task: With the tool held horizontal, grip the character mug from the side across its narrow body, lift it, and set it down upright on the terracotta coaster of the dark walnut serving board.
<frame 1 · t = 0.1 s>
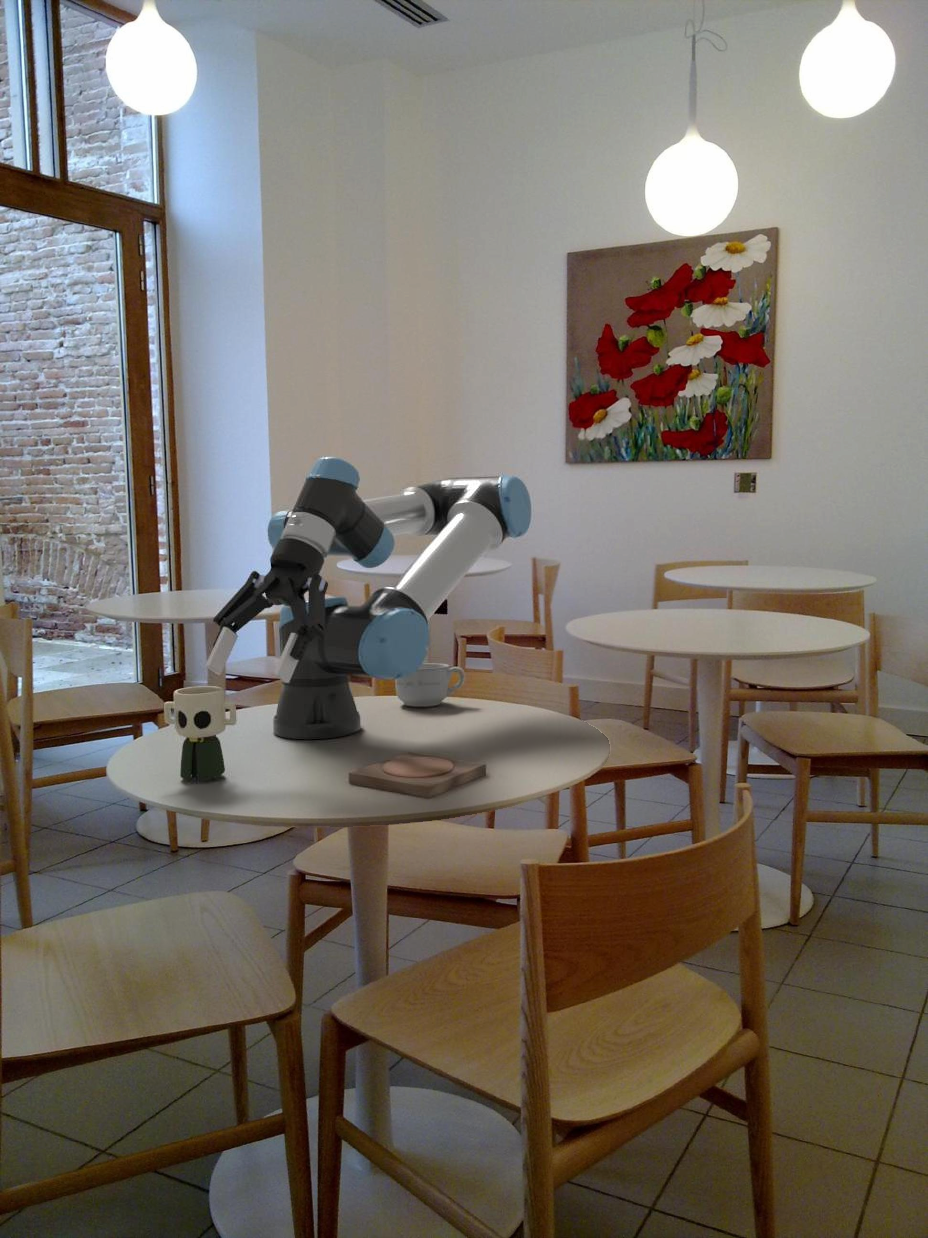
hand: (245, 674, 143), 15 cm above the table, tool tilted 35°, fingers open, 13 cm apart
teacup: (430, 706, 196), on the table
walnut board: (418, 778, 144), on the table
character mug: (203, 779, 146), on the table
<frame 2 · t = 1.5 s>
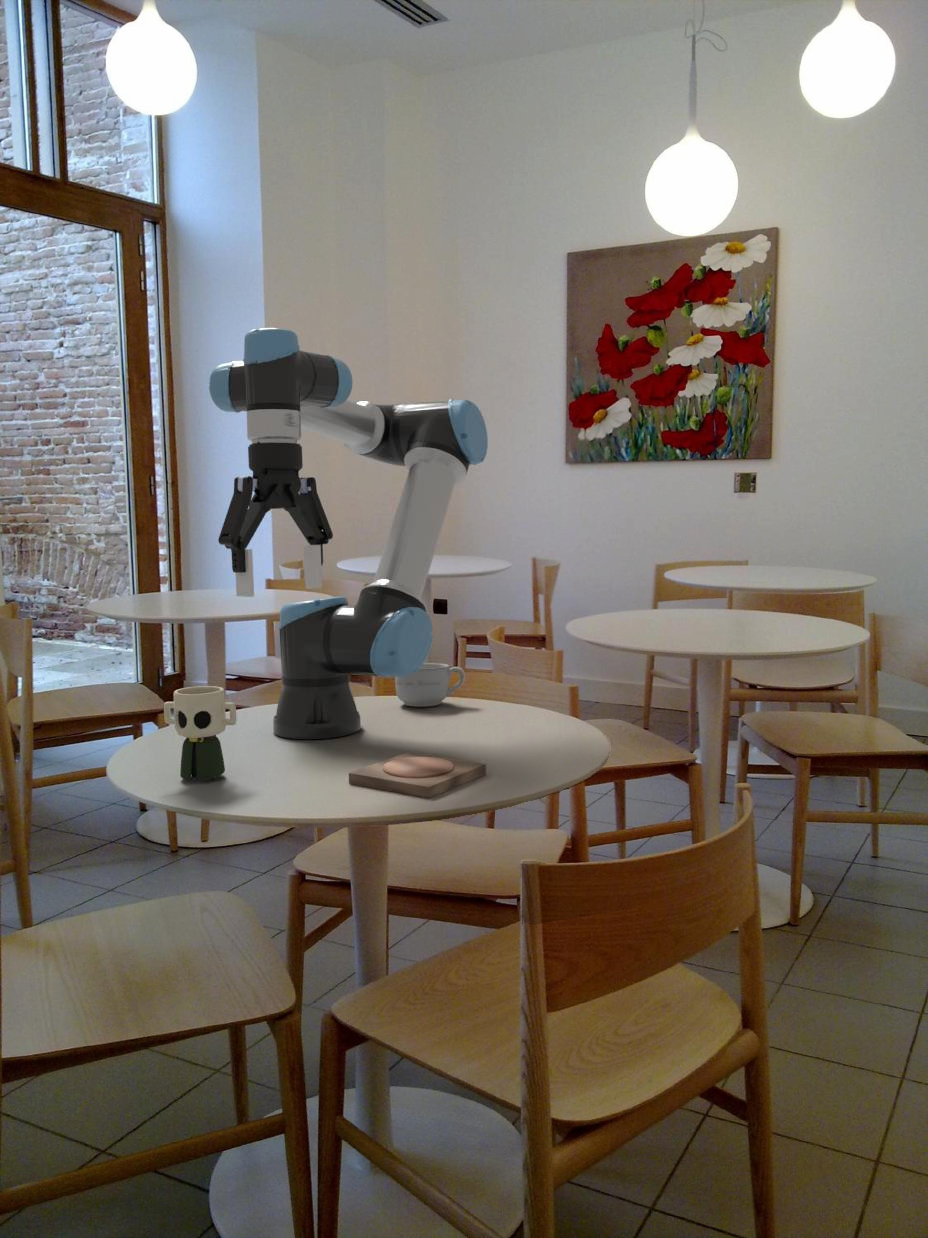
hand: (280, 592, 144), 27 cm above the table, tool pointing down, fingers open, 13 cm apart
nothing on the table moved.
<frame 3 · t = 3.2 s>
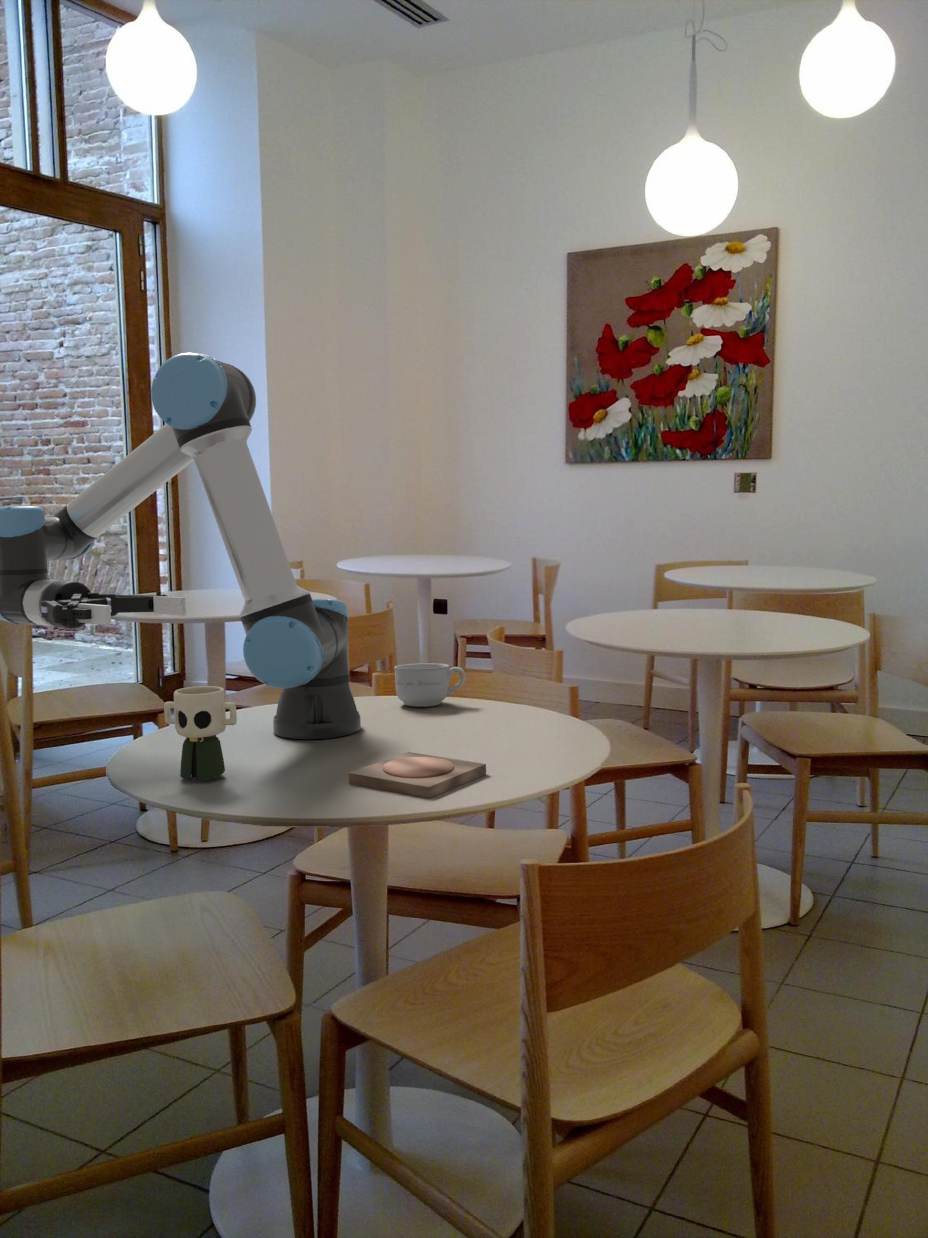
hand: (147, 610, 149), 24 cm above the table, tool horizontal, fingers open, 13 cm apart
nothing on the table moved.
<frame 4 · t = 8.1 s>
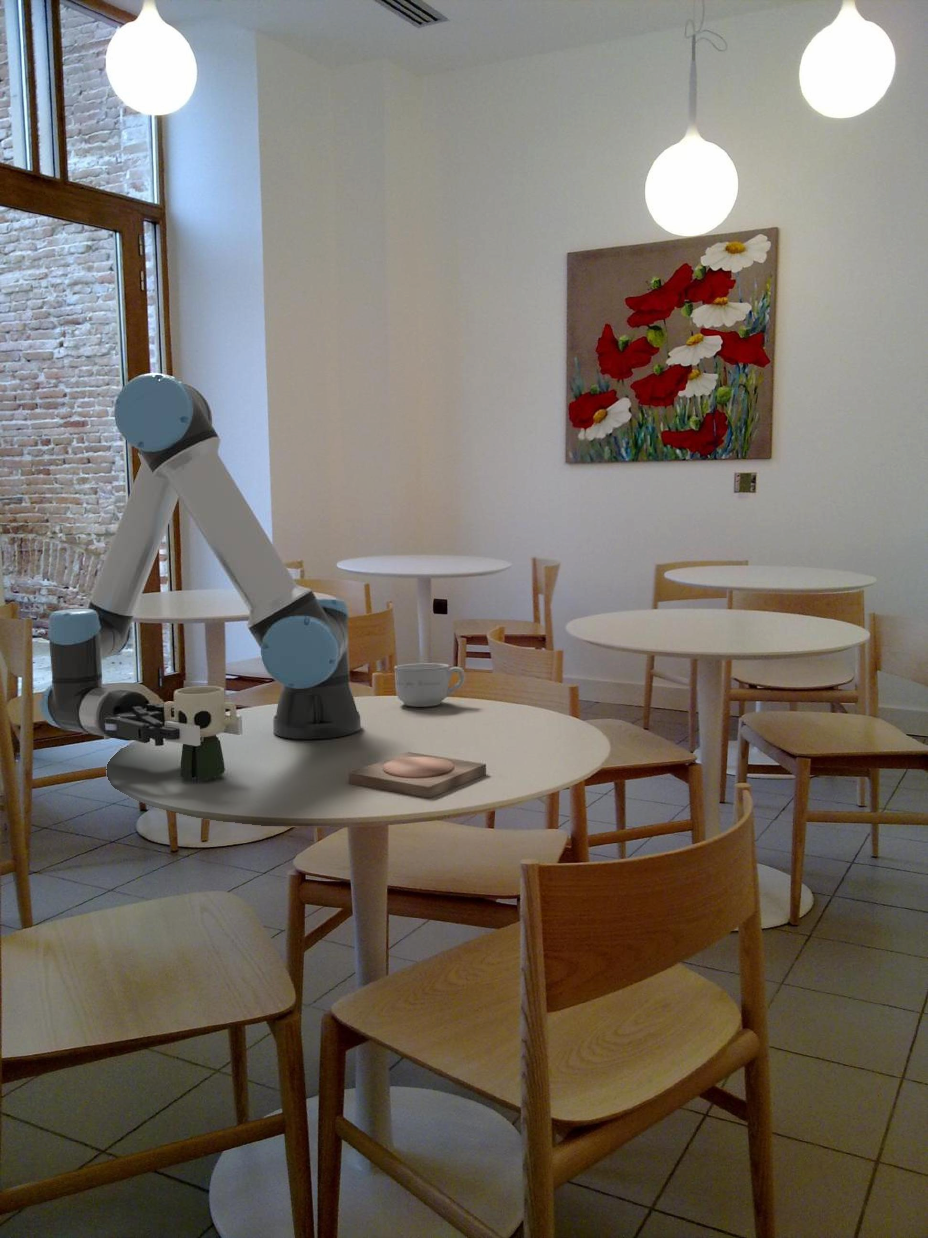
hand: (219, 730, 142), 8 cm above the table, tool horizontal, fingers closed on character mug, 7 cm apart
character mug: (203, 779, 146), on the table, touching gripper
everything else where it was.
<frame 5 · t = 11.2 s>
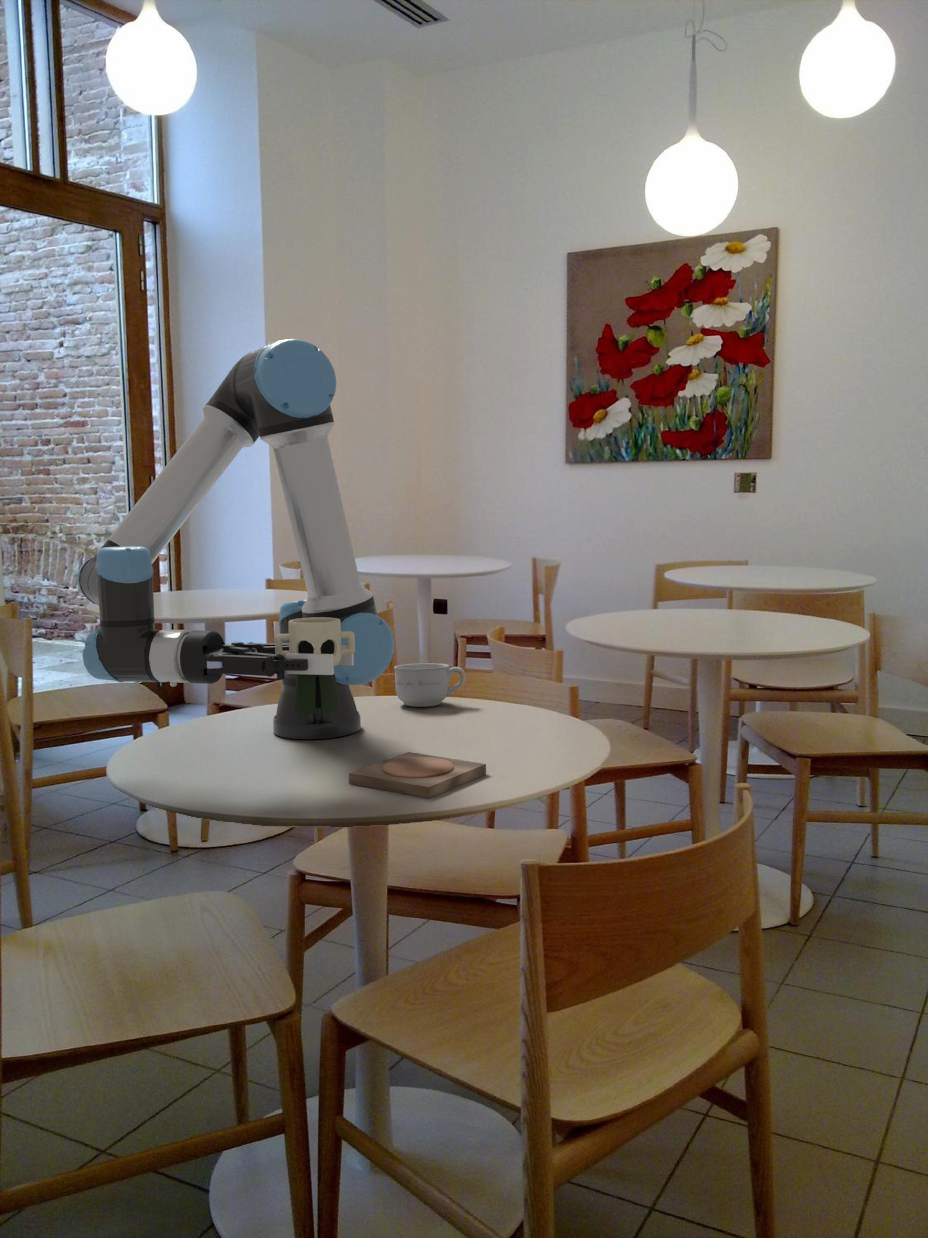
hand: (342, 660, 137), 18 cm above the table, tool horizontal, fingers closed on character mug, 7 cm apart
character mug: (317, 714, 139), point 10 cm above the table, touching gripper
everything else where it was.
when the fingers open (11 cm above the table, at t = 14.5 s): character mug drops 1 cm, resting on walnut board.
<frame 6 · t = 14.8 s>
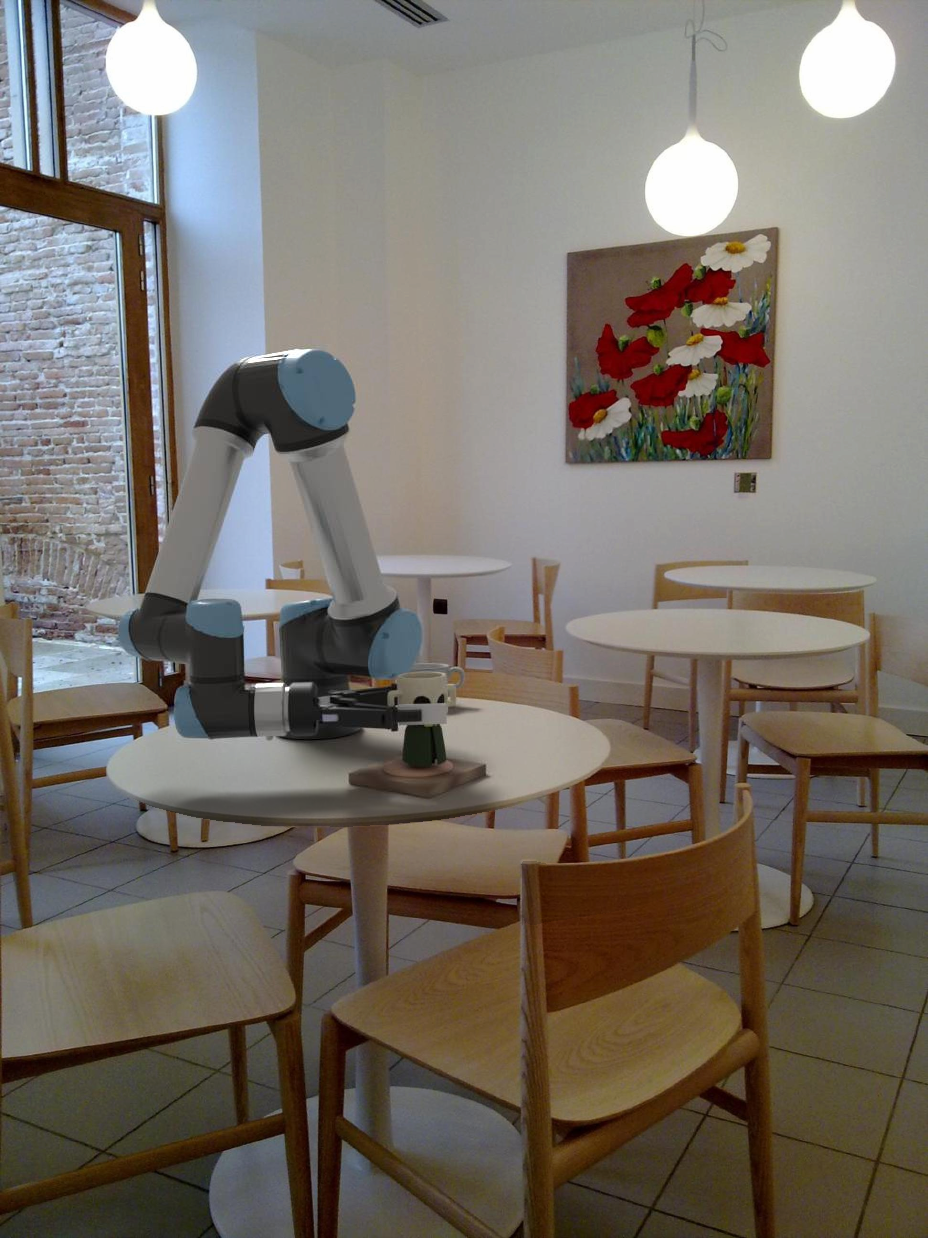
hand: (444, 704, 143), 11 cm above the table, tool horizontal, fingers open, 11 cm apart
character mug: (424, 766, 143), point 2 cm above the table, touching walnut board
everything else where it was.
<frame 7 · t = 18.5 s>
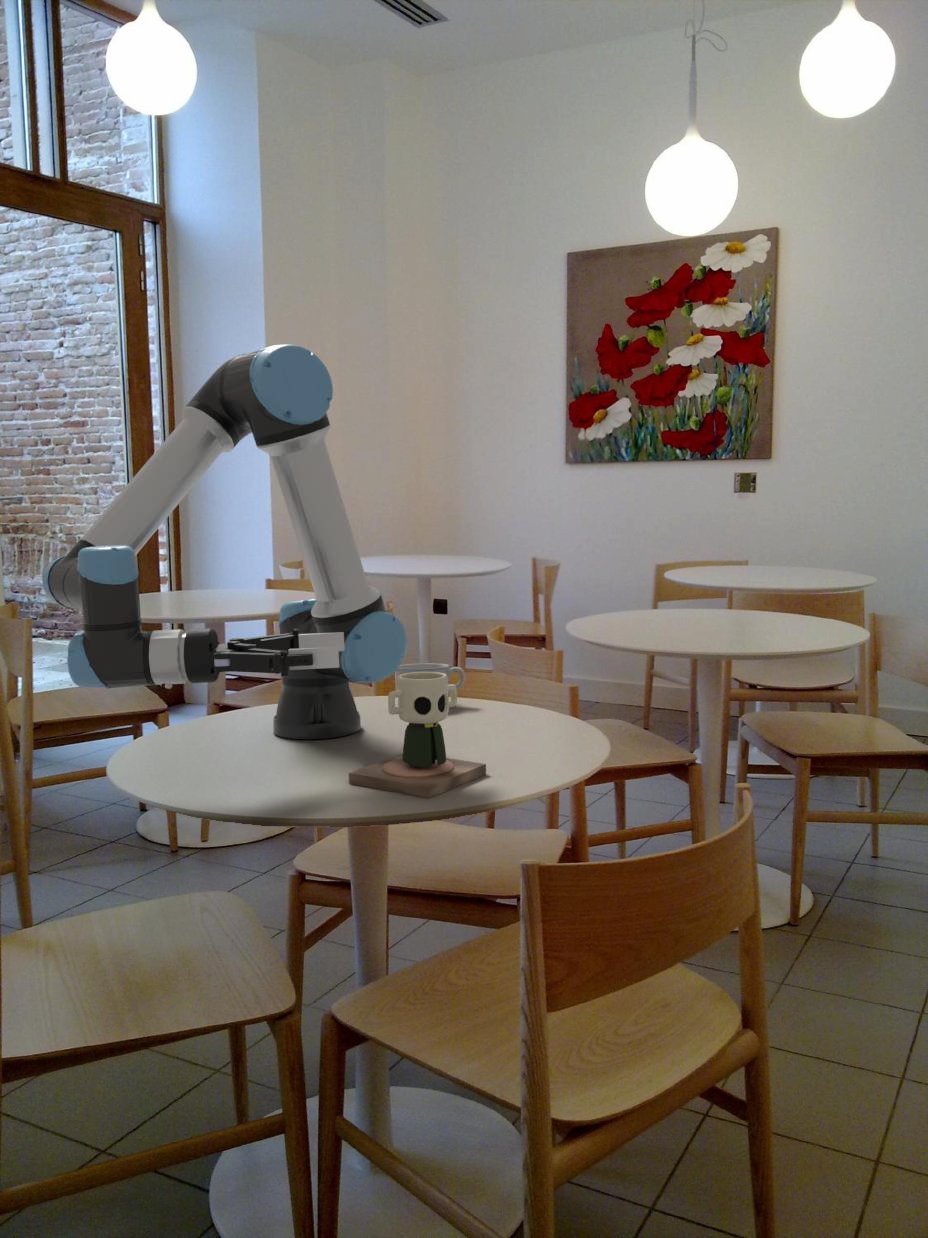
hand: (341, 648, 140), 19 cm above the table, tool horizontal, fingers open, 13 cm apart
nothing on the table moved.
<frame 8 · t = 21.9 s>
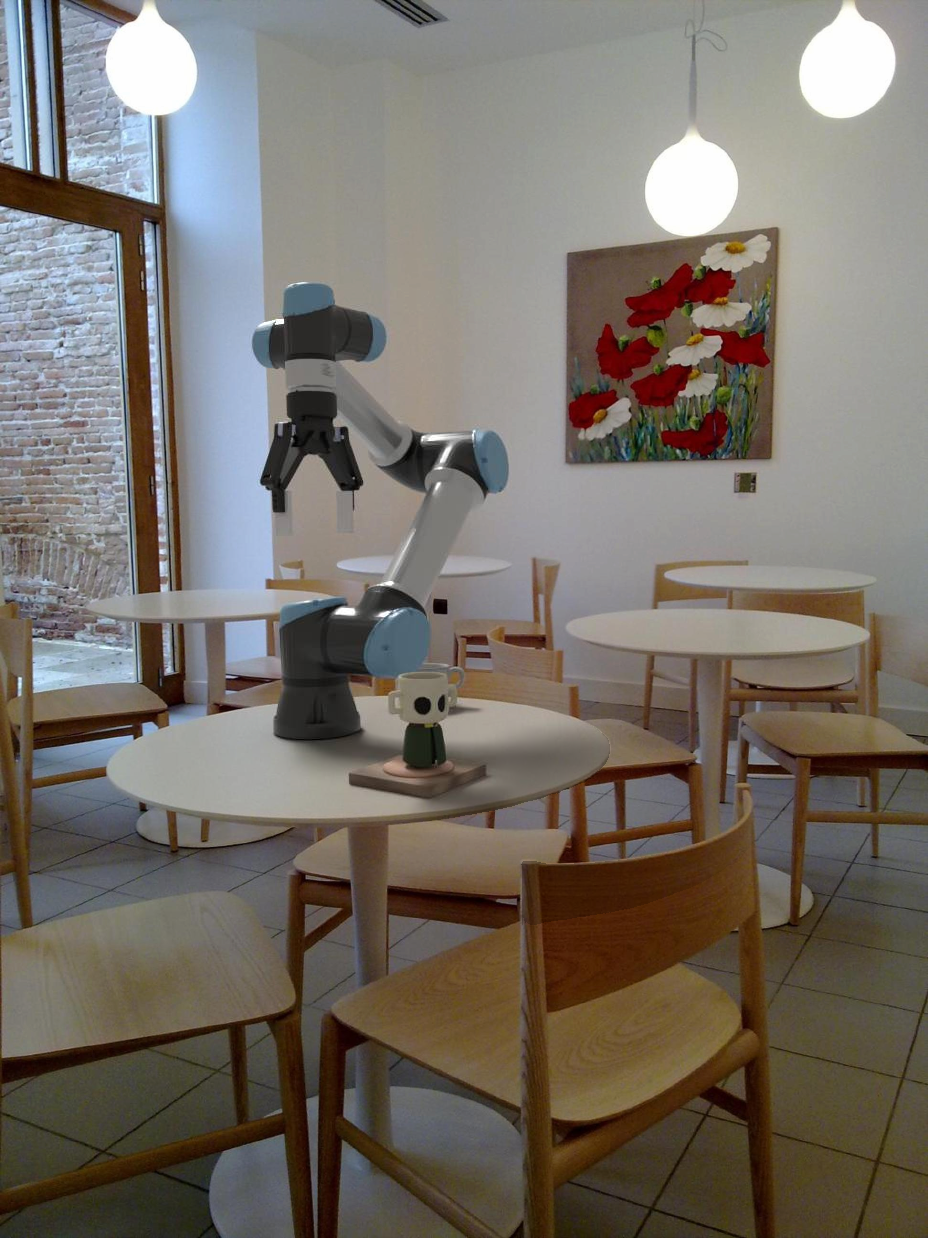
hand: (316, 534, 152), 35 cm above the table, tool pointing down, fingers open, 13 cm apart
nothing on the table moved.
at the end: character mug inside the target area on the walnut board (0.9 cm from its centre), point 1.7 cm above the walnut board's base; character mug tilted 0°; the gripper is holding nothing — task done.
